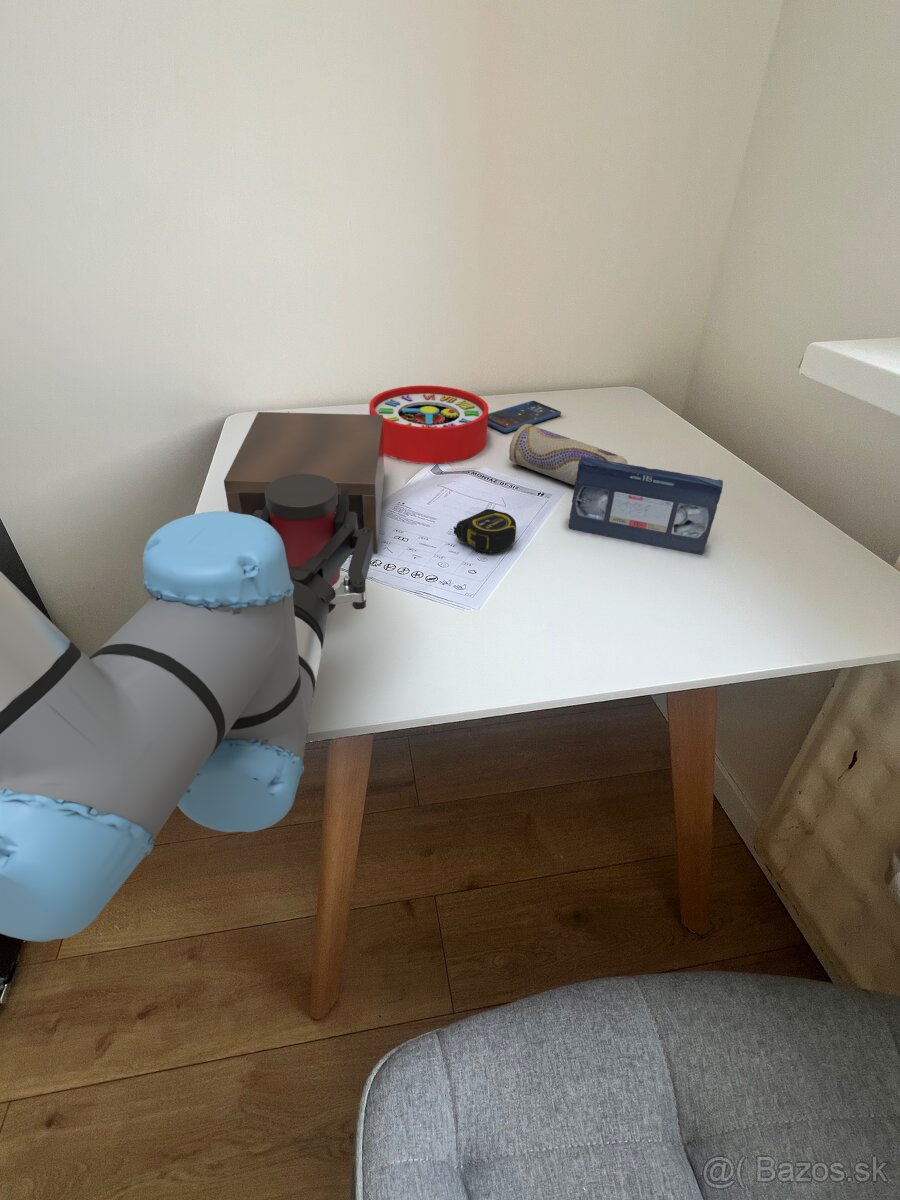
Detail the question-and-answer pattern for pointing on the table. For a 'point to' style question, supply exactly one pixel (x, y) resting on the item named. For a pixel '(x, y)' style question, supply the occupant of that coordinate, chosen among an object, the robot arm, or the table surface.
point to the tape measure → (487, 531)
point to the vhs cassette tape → (644, 504)
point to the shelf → (310, 458)
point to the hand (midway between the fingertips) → (310, 501)
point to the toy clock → (431, 423)
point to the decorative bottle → (553, 453)
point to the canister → (303, 515)
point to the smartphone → (520, 416)
